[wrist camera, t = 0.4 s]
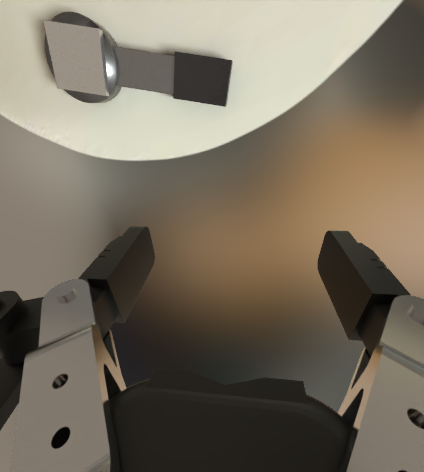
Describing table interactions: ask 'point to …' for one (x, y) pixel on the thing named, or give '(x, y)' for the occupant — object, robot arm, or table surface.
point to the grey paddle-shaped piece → (126, 66)
